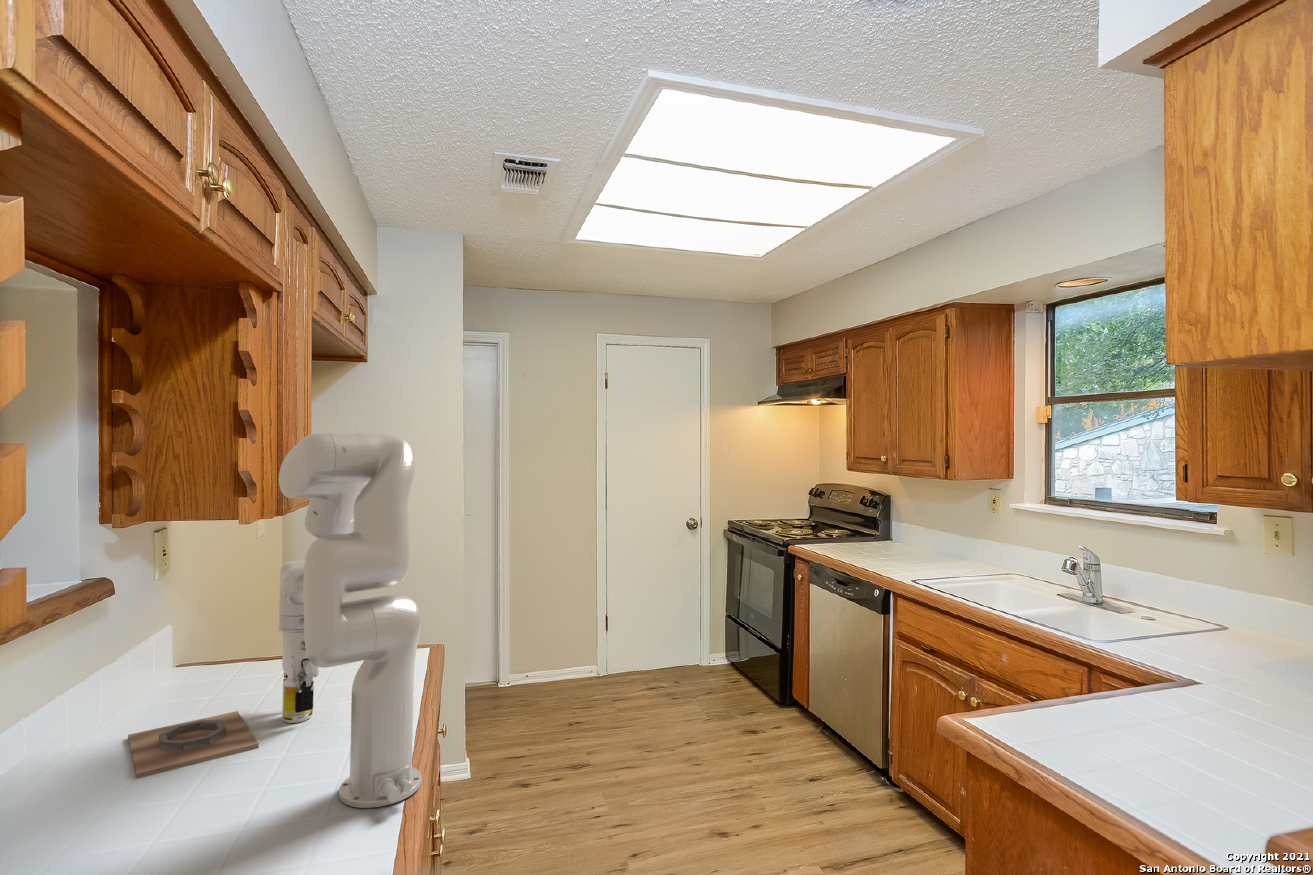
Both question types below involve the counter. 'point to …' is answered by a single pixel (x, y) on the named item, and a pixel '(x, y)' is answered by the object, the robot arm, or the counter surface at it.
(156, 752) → the ring board
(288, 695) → the supplement bottle
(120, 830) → the counter surface
